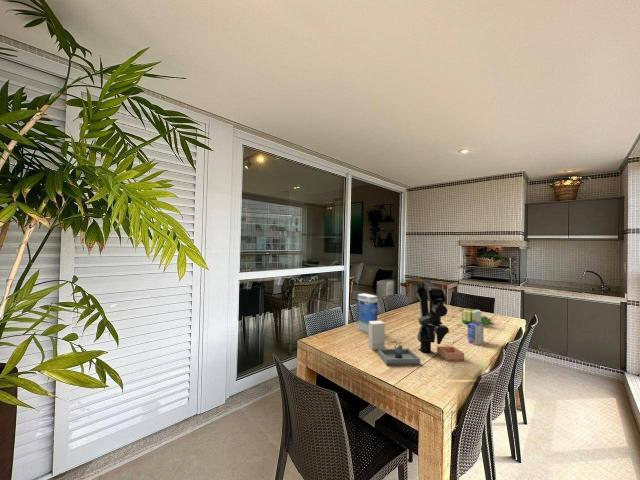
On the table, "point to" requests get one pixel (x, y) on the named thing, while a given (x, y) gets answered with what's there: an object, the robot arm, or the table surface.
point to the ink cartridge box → (475, 333)
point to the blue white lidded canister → (366, 311)
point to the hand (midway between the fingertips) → (434, 341)
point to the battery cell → (398, 351)
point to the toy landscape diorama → (474, 317)
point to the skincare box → (376, 335)
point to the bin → (450, 353)
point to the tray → (390, 359)
